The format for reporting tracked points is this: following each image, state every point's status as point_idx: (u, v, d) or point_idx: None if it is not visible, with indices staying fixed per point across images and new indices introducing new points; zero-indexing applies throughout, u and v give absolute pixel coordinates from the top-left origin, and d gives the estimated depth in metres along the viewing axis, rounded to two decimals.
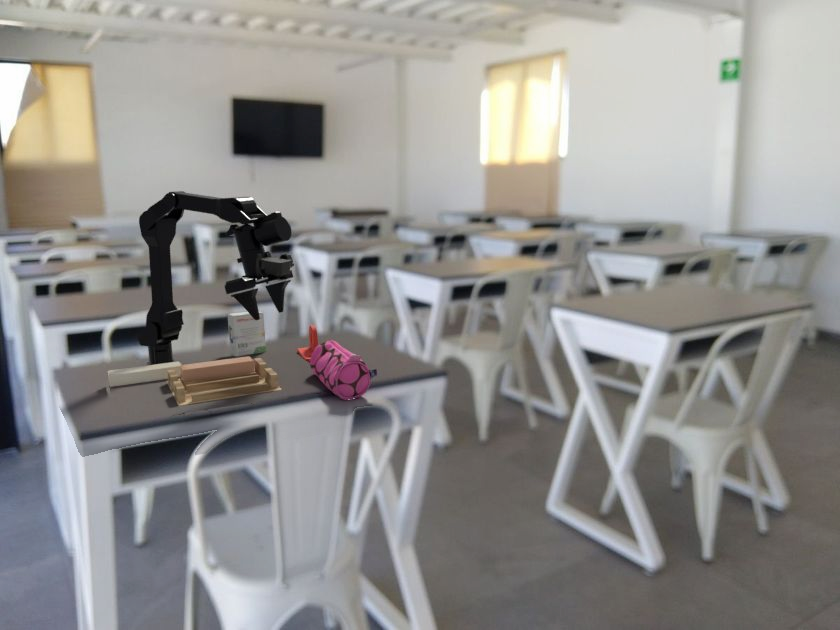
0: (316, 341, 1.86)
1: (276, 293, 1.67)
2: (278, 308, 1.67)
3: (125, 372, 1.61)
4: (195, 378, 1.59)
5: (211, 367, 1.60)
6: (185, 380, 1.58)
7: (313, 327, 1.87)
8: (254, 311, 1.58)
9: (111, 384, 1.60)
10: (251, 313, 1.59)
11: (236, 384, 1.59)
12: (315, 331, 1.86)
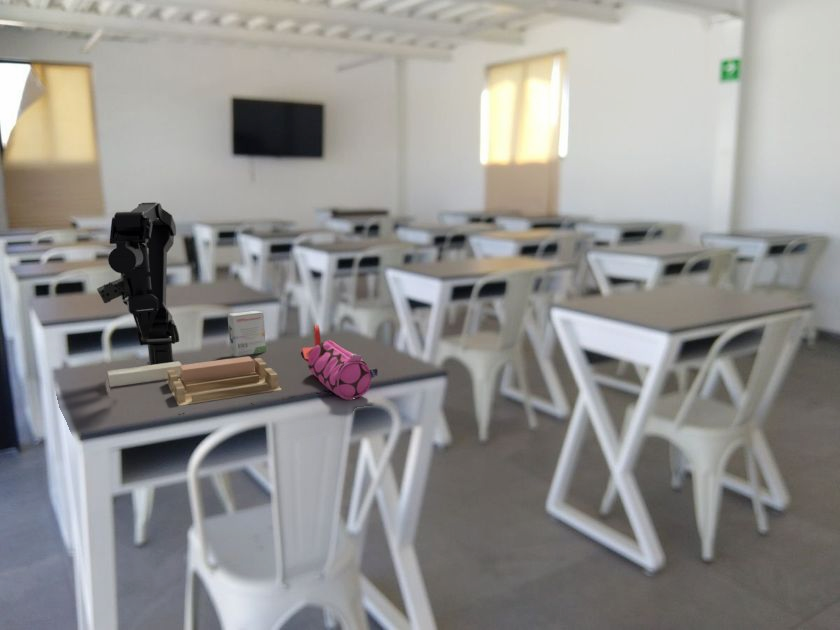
0: (319, 341, 1.86)
1: None
2: None
3: (125, 372, 1.61)
4: (195, 378, 1.59)
5: (211, 367, 1.60)
6: (185, 380, 1.58)
7: (316, 327, 1.87)
8: None
9: (111, 384, 1.60)
10: None
11: (236, 384, 1.59)
12: (318, 331, 1.86)
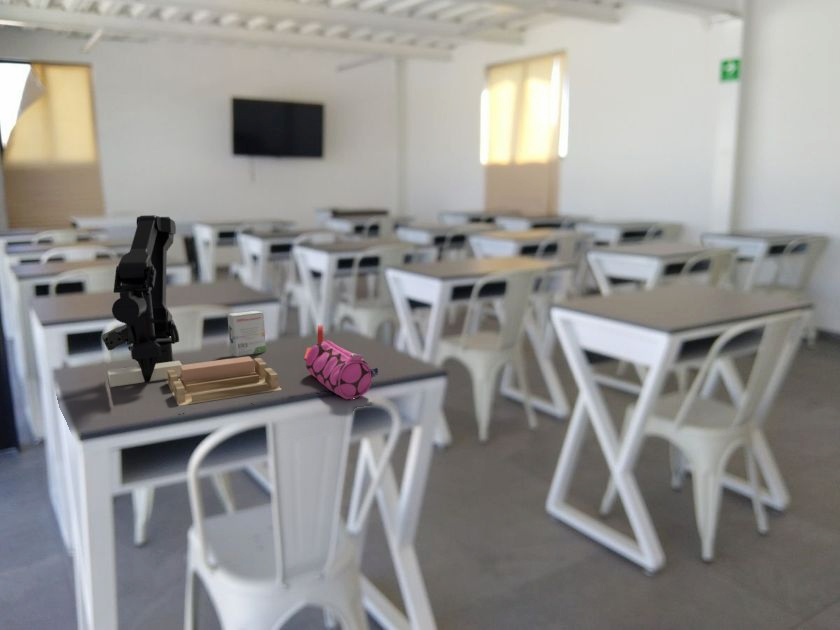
0: (320, 341, 1.85)
1: None
2: None
3: (126, 372, 1.61)
4: (195, 378, 1.59)
5: (211, 367, 1.60)
6: (185, 380, 1.58)
7: (319, 327, 1.86)
8: None
9: (111, 384, 1.60)
10: None
11: (236, 384, 1.59)
12: (320, 331, 1.85)
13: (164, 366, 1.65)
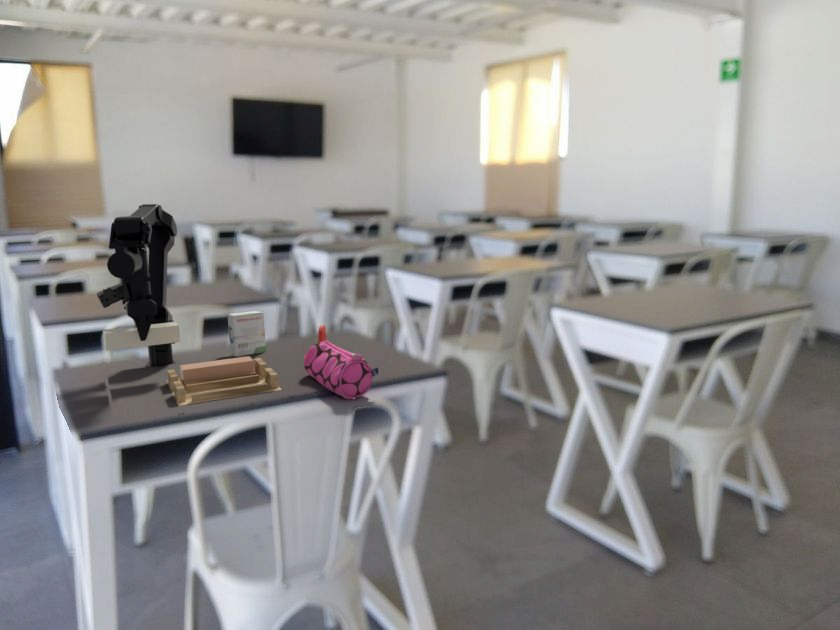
0: None
1: None
2: None
3: (121, 331, 1.59)
4: (195, 378, 1.59)
5: (211, 367, 1.60)
6: (185, 380, 1.58)
7: (320, 328, 1.86)
8: None
9: (106, 342, 1.58)
10: None
11: (236, 384, 1.59)
12: (321, 332, 1.85)
13: (160, 326, 1.63)
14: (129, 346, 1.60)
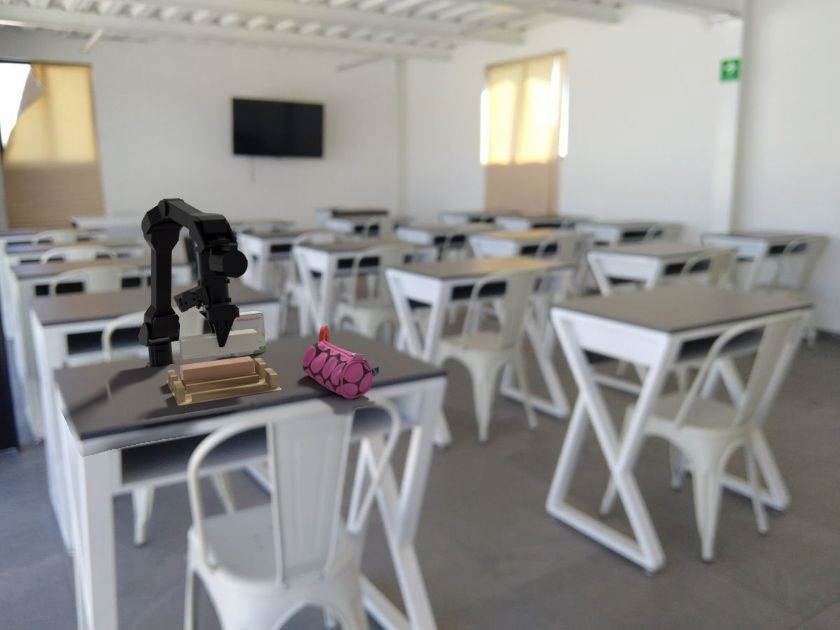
0: None
1: None
2: None
3: (199, 338, 1.49)
4: (195, 378, 1.59)
5: (211, 367, 1.60)
6: (185, 380, 1.58)
7: (322, 328, 1.86)
8: None
9: (183, 351, 1.48)
10: None
11: (236, 384, 1.59)
12: (322, 332, 1.85)
13: (238, 333, 1.53)
14: (206, 354, 1.50)
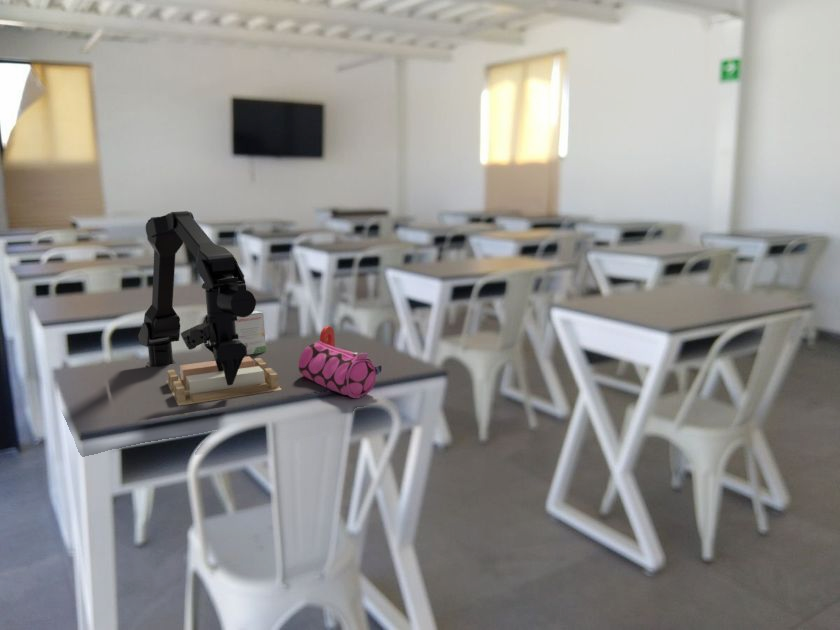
0: None
1: None
2: None
3: (206, 378, 1.51)
4: None
5: (211, 367, 1.60)
6: (185, 380, 1.58)
7: (324, 328, 1.85)
8: None
9: (191, 391, 1.50)
10: None
11: None
12: (323, 333, 1.84)
13: (245, 372, 1.55)
14: None
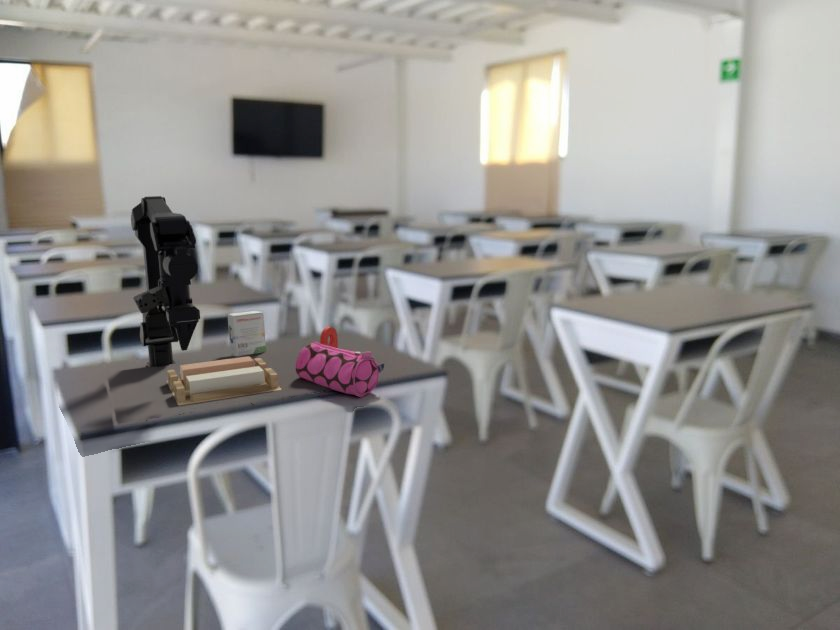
0: (322, 343, 1.83)
1: None
2: None
3: (206, 378, 1.51)
4: None
5: (211, 367, 1.60)
6: (185, 380, 1.58)
7: (325, 329, 1.84)
8: None
9: (191, 391, 1.50)
10: None
11: None
12: (324, 333, 1.83)
13: (245, 372, 1.55)
14: None
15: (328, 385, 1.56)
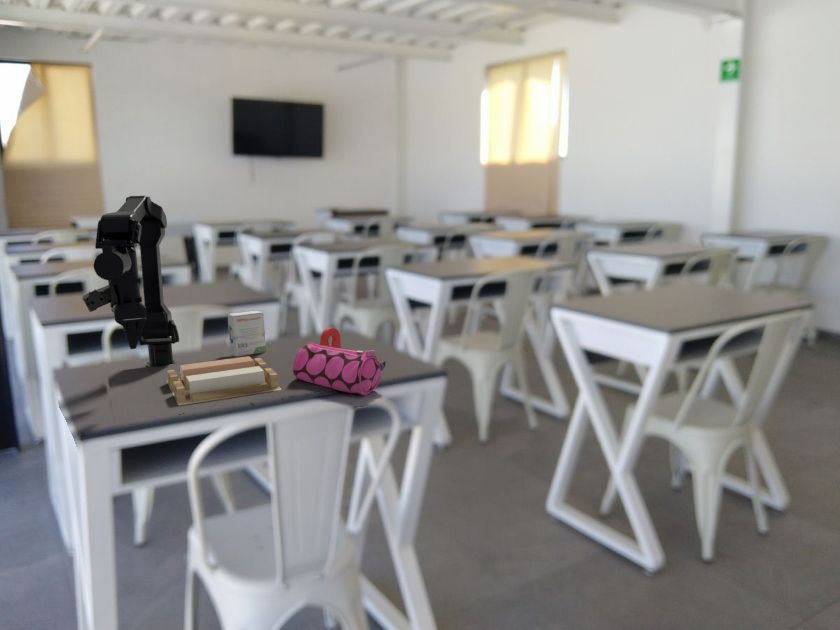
0: (322, 344, 1.82)
1: None
2: None
3: (206, 378, 1.51)
4: None
5: (211, 367, 1.60)
6: (185, 380, 1.58)
7: (326, 330, 1.84)
8: None
9: (191, 391, 1.50)
10: None
11: None
12: (324, 334, 1.83)
13: (245, 372, 1.55)
14: None
15: (330, 385, 1.56)
